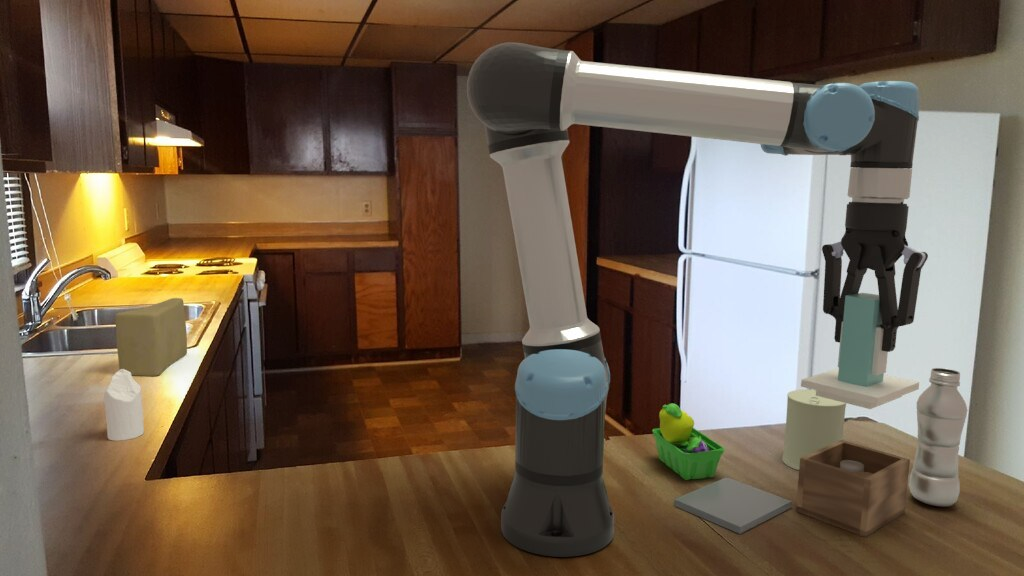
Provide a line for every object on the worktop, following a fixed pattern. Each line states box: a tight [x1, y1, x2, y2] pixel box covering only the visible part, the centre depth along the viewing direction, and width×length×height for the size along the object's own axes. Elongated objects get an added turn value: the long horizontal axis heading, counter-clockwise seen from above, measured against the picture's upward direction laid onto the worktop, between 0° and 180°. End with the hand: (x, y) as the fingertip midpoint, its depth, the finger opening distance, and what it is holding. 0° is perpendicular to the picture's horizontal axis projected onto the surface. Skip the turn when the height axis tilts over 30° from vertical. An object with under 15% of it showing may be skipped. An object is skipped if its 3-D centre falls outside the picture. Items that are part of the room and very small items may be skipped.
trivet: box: [673, 476, 793, 535], centre depth 109 cm, size 13×11×1 cm
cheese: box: [114, 297, 188, 377], centre depth 182 cm, size 22×10×15 cm, turn 177°
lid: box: [800, 292, 920, 410], centre depth 104 cm, size 13×11×14 cm
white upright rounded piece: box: [103, 369, 145, 442], centre depth 133 cm, size 6×12×6 cm
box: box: [795, 440, 911, 538], centre depth 107 cm, size 12×10×8 cm
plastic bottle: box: [908, 367, 968, 508], centre depth 110 cm, size 6×7×20 cm
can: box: [781, 389, 847, 471], centre depth 125 cm, size 9×9×12 cm
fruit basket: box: [651, 403, 725, 481], centre depth 122 cm, size 11×9×11 cm
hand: (861, 369), depth 104 cm, fingers closed on lid, 4 cm apart
